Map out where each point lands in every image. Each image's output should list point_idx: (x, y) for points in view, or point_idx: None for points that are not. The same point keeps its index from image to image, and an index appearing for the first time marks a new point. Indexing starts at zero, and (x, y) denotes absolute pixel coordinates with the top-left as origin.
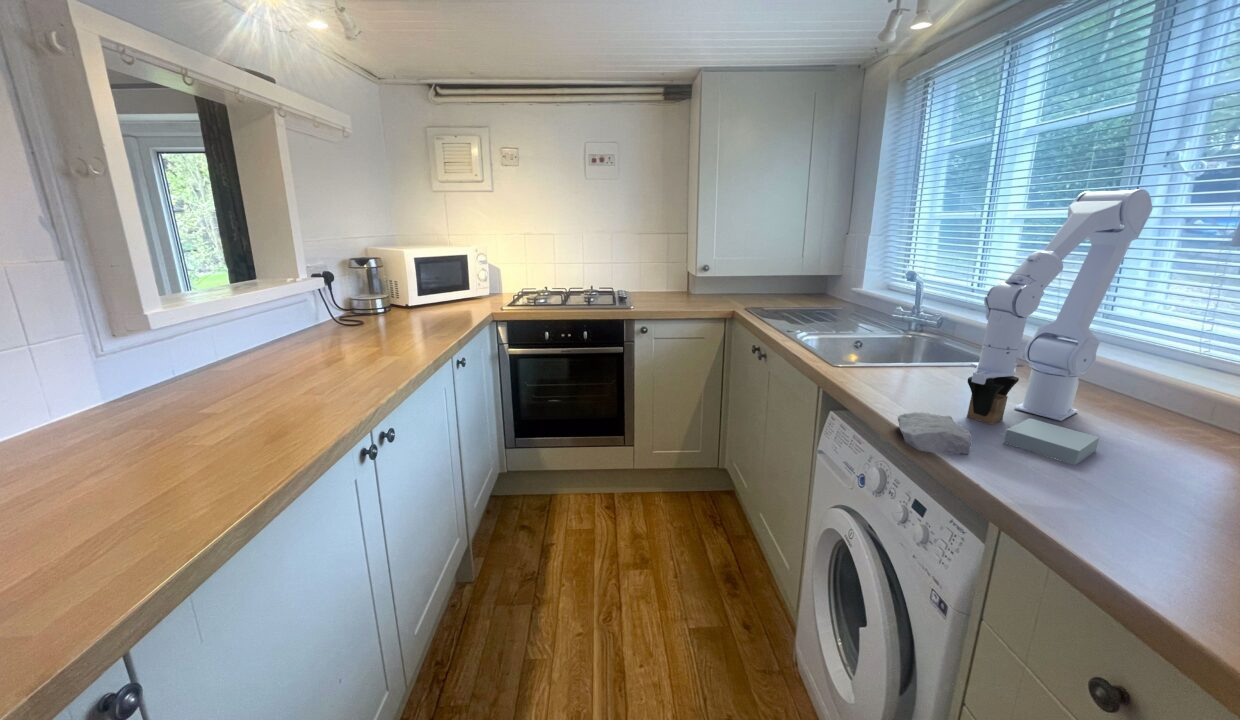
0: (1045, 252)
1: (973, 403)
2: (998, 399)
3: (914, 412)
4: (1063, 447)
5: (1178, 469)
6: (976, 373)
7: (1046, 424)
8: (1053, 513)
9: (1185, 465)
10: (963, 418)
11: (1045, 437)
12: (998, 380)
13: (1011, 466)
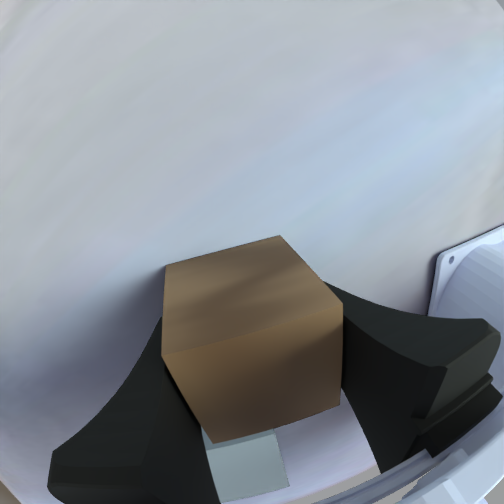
0: None
1: (145, 348)
2: (235, 435)
3: None
4: None
5: (312, 482)
6: None
7: (264, 459)
8: (27, 488)
9: (338, 473)
10: (133, 273)
11: None
12: (393, 428)
13: (42, 459)
